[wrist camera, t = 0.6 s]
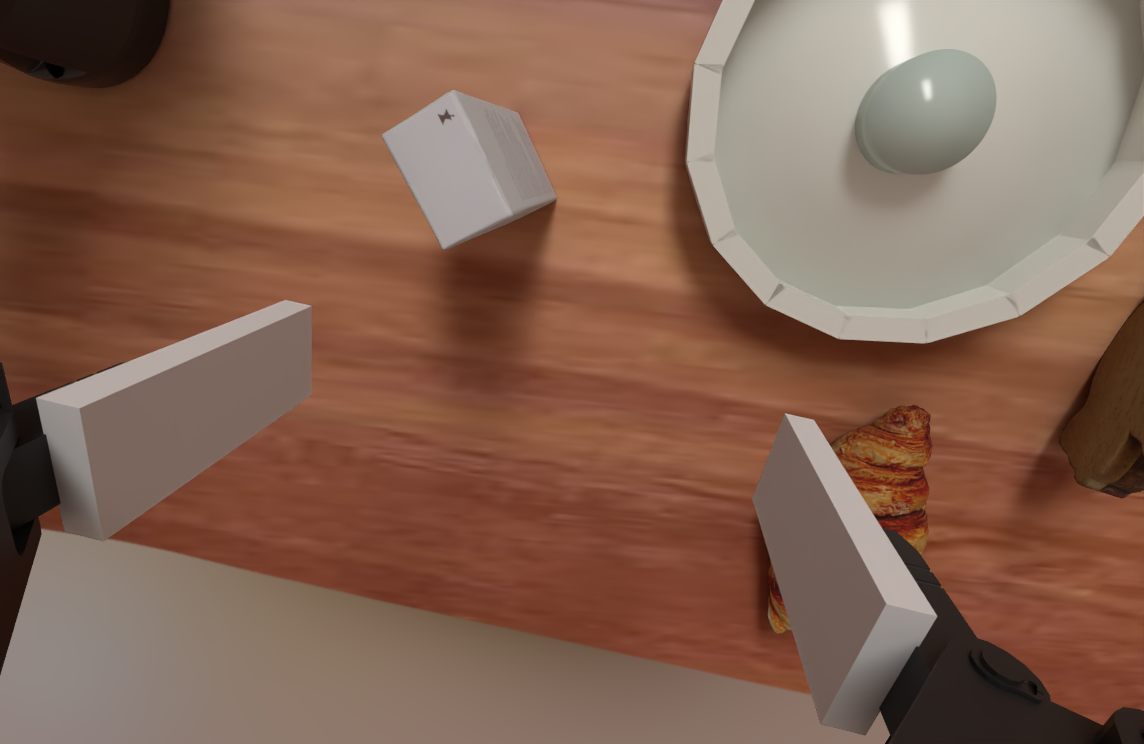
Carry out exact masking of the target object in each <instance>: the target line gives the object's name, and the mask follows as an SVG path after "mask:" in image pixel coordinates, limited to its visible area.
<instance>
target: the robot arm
mask: <svg viewBox="0 0 1144 744" xmlns="http://www.w3.org/2000/svg"><path fill="white" fill-rule="evenodd" d="M168 4H169V0H0V62H2V63H4V64H6V65H8V66H10V67H13V68H15V69H17V70H19V71H21V72H24V73H26V74H28V75H31V76H33V77H36V78H39V79H42V80H46V81H50V82H54V83H60V84H67V85H74V86H81V87H89V88H102V87H109V86H114V85H117V84H120V83H122V82H124V81H126V80H128V79H130V78H131V77H133V76H134V75H136V74H137V73H138V72H139V71H140V70H141V69H142V68H143V67H144V66H145V65H146V64H147V63H148V61H149V60H150V59H151V57H152V56H153V54H154V52H155V51H156V49H157V47H158V45H159V42H160V40H161V37H162V35H163V31H164V28H165V24H166V19H167V13H168ZM311 372H312V306H309V305H305V304H301V303H296V302H292V301H287V300H284V301H282V302H279V303H277V304H274V305H272V306H269V307H266V308H264V309H261V310H259V311H256V312H254V313H251V314H249V315H246V316H243V317H241V318H238V319H236V320H233V321H231V322H228V323H226V324H223V325H221V326H218V327H215V328H213V329H210V330H208V331H205V332H203V333H200V334H198V335H195V336H192V337H190V338H187V339H185V340H182V341H180V342H177V343H175V344H172V345H170V346H167V347H164V348H162V349H159V350H157V351H154V352H152V353H149V354H147V355H144V356H141V357H139V358H136V359H134V360H131V361H128V362H123V363H119V364H117V365H114V366H112V367H109V368H107V369H104V370H101V371H99V372H97V374H96V375H94V374H91V375H89V376H86V377H83V378H81V379H78V380H77V382H71V383H68V384H65V385H63V386H60V387H58V388H55V389H53V390H50V391H47V392H45V393H42V394H40V395H37V396H35V397H32V398H29V399H27V400H24V401H22V402H19V403H17V404H14V405H12V403H11V399H10V395H9V390H8V386H7V382H6V378H5V373H4V369H3V365H2V363H1V362H0V674H1V671H2V667H3V663H4V660H5V657H6V653H7V650H8V646H9V643H10V640H11V636H12V633H13V630H14V626H15V622H16V619H17V616H18V613H19V609H20V606H21V602H22V599H23V595H24V592H25V588H26V585H27V582H28V578H29V575H30V571H31V568H32V565H33V561H34V558H35V554H36V551H37V548H38V544H39V541H40V537H41V527H40V522H39V518H38V516H40V515H42V514H44V513H45V512H47V511H49V510H50V509H52V508H54V507H55V506H57V505H59V508H60V513H61V517H62V522H63V527H64V531H65V532H69V533H73V534H77V535H81V536H85V537H89V538H92V539H96V540H100V541H105V540H106V539H107V538H109V537H110V536H112V535H113V534H115V533H116V532H117V531H119V530H120V529H122V528H123V527H125V526H126V525H127V524H129V523H130V522H132V521H133V520H134V519H136V518H137V517H139V516H140V515H142V514H143V513H144V512H146V511H147V510H149V509H150V508H152V507H153V506H154V505H156V504H157V503H159V502H160V501H161V500H163V499H164V498H166V497H167V496H169V495H170V494H171V493H173V492H174V491H176V490H177V489H179V488H180V487H181V486H183V485H184V484H186V483H187V482H188V481H190V480H191V479H193V478H194V477H196V476H197V475H198V474H200V473H201V472H203V471H204V470H206V469H207V468H208V467H210V466H211V465H213V464H214V463H215V462H217V461H218V460H220V459H221V458H223V457H224V456H225V455H227V454H228V453H230V452H231V451H233V450H234V449H235V448H237V447H238V446H240V445H241V444H242V443H244V442H245V441H247V440H248V439H250V438H251V437H252V436H254V435H255V434H257V433H258V432H260V431H261V430H262V429H264V428H265V427H267V426H268V425H269V424H271V423H272V422H274V421H275V420H277V419H278V418H279V417H281V416H282V415H284V414H285V413H286V412H288V411H289V410H291V409H292V408H294V407H295V406H296V405H298V404H299V403H301V402H302V401H304V400H305V399H306V398H308V397H309V396H311ZM752 500H753V503H754V506H755V510H756V513H757V516H758V520H759V523H760V526H761V530H762V533H763V536H764V539H765V543H766V546H767V549H768V553H769V556H770V559H771V563H772V566H773V569H774V572H775V576H776V579H777V582H778V586H779V589H780V592H781V596H782V599H783V602H784V605H785V609H786V612H787V615H788V619H789V622H790V625H791V629H792V632H793V635H794V638H795V642H796V645H797V648H798V652H799V655H800V658H801V662H802V665H803V668H804V671H805V675H806V678H807V681H808V685H809V688H810V691H811V695H812V698H813V701H814V704H815V708H816V711H817V714H818V718H819V721H820V724H822V725H826V726H830V727H834V728H838V729H842V730H846V731H850V732H854V733H858V734H862V735H866V734H867V732H868V730H869V729H870V727H871V725H872V724H873V722H874V720H875V719H876V717H877V716H878V714H879V712H880V711H881V714H882V716H883V718H884V721H885V723H886V726H887V728H888V730H889V733H890V736H889V738H888V740H887V741H886V743H885V744H1144V711H1142V710H1140V709H1133V708H1126V707H1123V708H1121V709H1119V710H1117V711H1115V712H1114V713H1113V714H1112V716H1111V717H1110V718H1109V719H1108V720H1107V722H1106V723H1105V724H1104V725H1101V724H1099V723H1096V722H1094V721H1092V720H1090V719H1088V718H1086V717H1084V716H1081V715H1079V714H1077V713H1075V712H1073V711H1071V710H1068V709H1066V708H1064V707H1062V706H1060V705H1058V704H1055V703H1053V702H1051V700H1050V695H1049V693H1048V692H1047V690H1046V689H1045V687H1044V685H1043V684H1042V682H1041V681H1040V680H1039V679H1038V678H1037V677H1036V676H1035V675H1034V674H1033V673H1032V672H1031V671H1030V670H1029V669H1028V668H1027V667H1026V666H1025V665H1024V664H1023V663H1022V662H1020V661H1019V660H1017V659H1016V658H1015V657H1013V656H1012V655H1011V654H1009V653H1008V652H1006V651H1005V650H1003V649H1001V648H999V647H997V646H995V645H993V644H991V643H989V642H987V641H984V640H981V639H978V638H977V637H976V635H975V634H974V633H973V631H972V630H971V628H970V627H969V625H968V624H967V622H966V621H965V619H964V618H963V616H962V615H961V613H960V612H959V611H958V609H957V608H956V606H955V605H954V603H953V602H952V600H951V599H950V597H949V596H948V594H947V593H946V592H945V590H944V589H942V588H940V586H941V584H940V583H939V581H938V580H937V578H936V577H935V575H934V574H933V573H932V572H930V568H929V567H928V565H927V564H926V562H925V561H924V559H923V558H922V556H921V555H920V554H919V552H918V551H917V549H915V548H914V547H913V546H912V545H911V544H910V543H909V542H908V541H906V540H905V539H904V538H903V537H902V536H901V535H900V534H899V533H897V532H896V531H893V530H889V529H884V528H881V526H880V524H879V523H878V521H877V520H876V518H875V516H874V515H873V513H872V512H871V510H870V508H869V507H868V505H867V504H866V502H865V500H864V499H863V497H862V496H861V494H860V493H859V491H858V489H857V488H856V486H855V485H854V483H853V481H852V480H851V478H850V477H849V475H848V473H847V472H846V470H845V469H844V467H843V466H842V464H841V462H840V461H839V459H838V458H837V456H836V454H835V453H834V451H833V450H832V448H831V446H830V445H829V443H828V442H827V440H826V439H825V437H824V435H823V434H822V432H821V431H820V429H819V427H818V426H817V424H816V423H815V421H814V420H812V419H807V418H803V417H798V416H794V415H790V414H785V415H784V417H783V420H782V422H781V425H780V428H779V430H778V433H777V435H776V438H775V441H774V443H773V446H772V448H771V451H770V454H769V456H768V459H767V461H766V464H765V467H764V469H763V472H762V475H761V477H760V480H759V482H758V485H757V488H756V490H755V493H754V495H753V498H752Z"/></svg>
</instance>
